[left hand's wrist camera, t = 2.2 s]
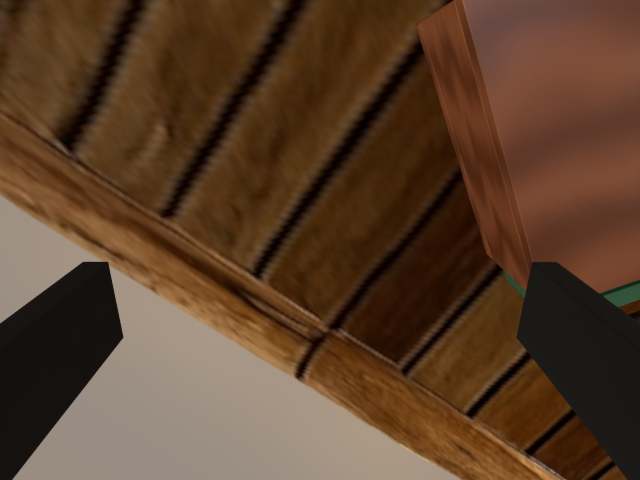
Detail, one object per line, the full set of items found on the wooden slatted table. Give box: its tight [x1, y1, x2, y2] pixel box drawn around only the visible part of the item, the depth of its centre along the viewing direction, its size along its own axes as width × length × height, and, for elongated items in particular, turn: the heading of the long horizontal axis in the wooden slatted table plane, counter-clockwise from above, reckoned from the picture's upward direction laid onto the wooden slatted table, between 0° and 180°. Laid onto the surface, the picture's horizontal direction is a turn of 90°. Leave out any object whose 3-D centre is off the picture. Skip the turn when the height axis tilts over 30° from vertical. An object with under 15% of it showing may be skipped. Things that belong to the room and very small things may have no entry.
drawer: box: [504, 271, 640, 323], centre depth 28 cm, size 23×9×7 cm, turn 23°
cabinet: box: [416, 0, 640, 294], centre depth 26 cm, size 19×10×10 cm, turn 23°
